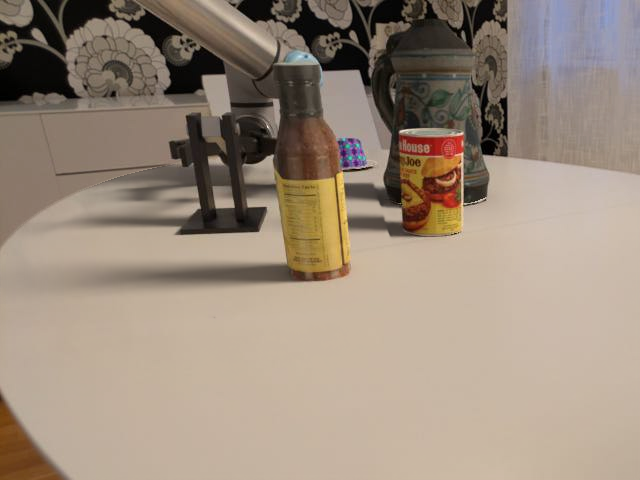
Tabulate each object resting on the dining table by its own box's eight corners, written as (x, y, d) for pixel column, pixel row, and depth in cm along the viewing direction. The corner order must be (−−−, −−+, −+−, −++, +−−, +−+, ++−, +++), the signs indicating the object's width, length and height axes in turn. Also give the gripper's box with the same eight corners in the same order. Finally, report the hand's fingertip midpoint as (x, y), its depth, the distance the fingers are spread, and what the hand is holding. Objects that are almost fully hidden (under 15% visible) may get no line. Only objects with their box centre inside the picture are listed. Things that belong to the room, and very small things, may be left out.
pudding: (357, 161, 140) (355, 134, 138) (389, 168, 132) (387, 140, 129) (304, 166, 133) (301, 138, 131) (334, 174, 124) (332, 144, 122)
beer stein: (480, 210, 97) (482, 16, 87) (351, 205, 100) (338, 16, 89) (496, 189, 112) (499, 22, 102) (383, 185, 115) (375, 21, 104)
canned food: (393, 225, 88) (389, 129, 83) (448, 219, 92) (447, 127, 87) (416, 239, 82) (413, 136, 77) (474, 232, 85) (474, 133, 80)
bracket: (199, 218, 91) (181, 110, 85) (268, 216, 93) (254, 109, 87) (181, 240, 80) (159, 118, 75) (259, 237, 82) (244, 117, 76)
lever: (223, 171, 97) (221, 145, 97) (249, 170, 97) (247, 145, 97) (196, 142, 80) (193, 111, 80) (228, 141, 81) (225, 110, 80)
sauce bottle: (319, 266, 71) (300, 61, 63) (365, 275, 68) (351, 62, 60) (273, 282, 66) (245, 61, 58) (320, 293, 63) (298, 63, 55)
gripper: (326, 160, 119) (325, 180, 100) (176, 163, 114) (145, 185, 95) (322, 115, 116) (321, 127, 97) (168, 116, 111) (134, 129, 92)
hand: (234, 156), depth 96 cm, fingers open, 13 cm apart
